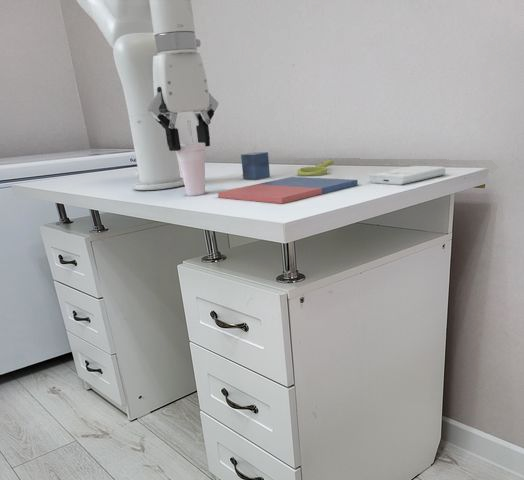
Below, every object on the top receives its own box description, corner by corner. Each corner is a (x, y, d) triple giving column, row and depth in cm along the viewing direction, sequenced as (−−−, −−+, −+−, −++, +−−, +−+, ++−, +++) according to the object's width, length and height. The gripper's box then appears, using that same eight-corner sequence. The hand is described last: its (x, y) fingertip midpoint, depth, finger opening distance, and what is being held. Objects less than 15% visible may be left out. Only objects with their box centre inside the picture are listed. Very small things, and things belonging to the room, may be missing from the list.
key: (334, 168, 131) (334, 159, 130) (325, 175, 121) (325, 165, 120) (305, 169, 133) (305, 160, 133) (294, 177, 123) (293, 167, 122)
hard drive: (445, 175, 105) (402, 185, 99) (411, 173, 111) (369, 182, 105) (445, 166, 104) (402, 175, 98) (412, 165, 110) (369, 173, 104)
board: (218, 197, 104) (217, 192, 104) (292, 181, 116) (291, 176, 115) (282, 203, 92) (281, 197, 91) (357, 185, 103) (357, 179, 103)
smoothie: (198, 196, 107) (188, 120, 101) (174, 196, 110) (163, 123, 105) (217, 191, 112) (209, 118, 106) (193, 191, 115) (184, 120, 109)
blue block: (243, 179, 127) (240, 154, 125) (257, 176, 130) (255, 152, 127) (255, 179, 124) (253, 154, 122) (270, 176, 127) (268, 152, 124)
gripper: (202, 48, 108) (213, 143, 115) (125, 49, 98) (142, 153, 105) (225, 43, 102) (235, 143, 110) (146, 43, 92) (163, 153, 100)
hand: (189, 147), depth 107 cm, fingers closed on smoothie, 6 cm apart
